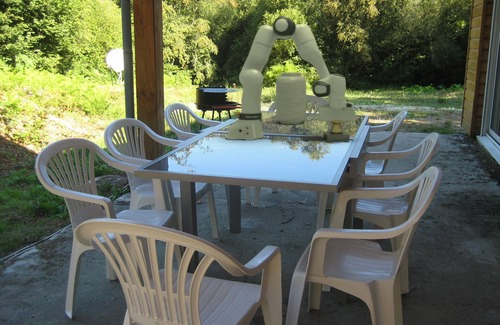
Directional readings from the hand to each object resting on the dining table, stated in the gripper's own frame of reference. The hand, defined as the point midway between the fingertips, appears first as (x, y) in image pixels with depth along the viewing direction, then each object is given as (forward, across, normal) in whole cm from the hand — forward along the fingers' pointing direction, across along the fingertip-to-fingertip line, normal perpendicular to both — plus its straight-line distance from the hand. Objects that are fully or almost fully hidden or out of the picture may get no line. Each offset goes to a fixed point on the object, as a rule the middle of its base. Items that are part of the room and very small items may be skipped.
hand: (336, 129), depth 273 cm
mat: (+6, -12, +6) cm, 15 cm away
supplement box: (+6, +4, +21) cm, 22 cm away
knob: (+6, 0, 0) cm, 6 cm away
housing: (+6, 0, 0) cm, 6 cm away
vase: (+6, -17, +66) cm, 68 cm away
